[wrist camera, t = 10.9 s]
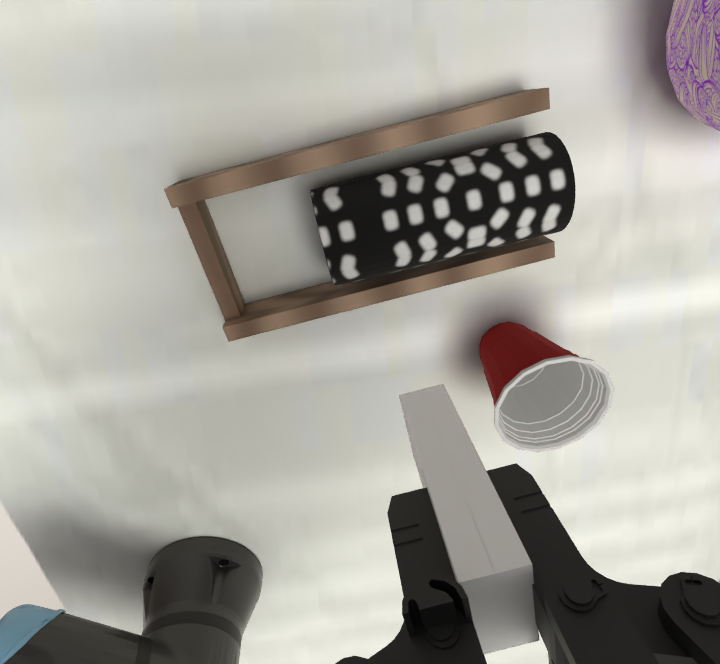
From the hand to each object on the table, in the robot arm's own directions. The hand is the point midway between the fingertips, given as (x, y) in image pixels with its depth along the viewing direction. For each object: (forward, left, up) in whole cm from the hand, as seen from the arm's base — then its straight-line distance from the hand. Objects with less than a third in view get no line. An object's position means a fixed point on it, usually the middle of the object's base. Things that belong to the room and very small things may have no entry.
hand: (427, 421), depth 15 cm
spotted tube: (-3, 0, -26) cm, 26 cm away
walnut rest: (+2, 0, -30) cm, 30 cm away
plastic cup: (+13, -18, -31) cm, 38 cm away
